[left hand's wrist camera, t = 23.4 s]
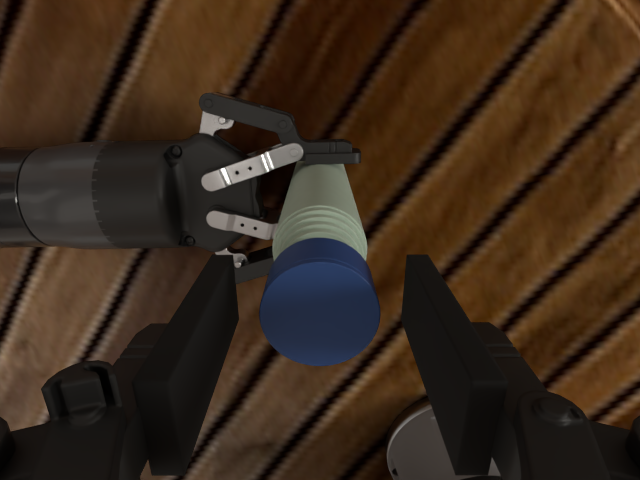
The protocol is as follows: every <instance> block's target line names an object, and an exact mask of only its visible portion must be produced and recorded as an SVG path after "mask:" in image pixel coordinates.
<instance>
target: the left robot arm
mask: <svg viewBox="0 0 640 480" xmlns="http://www.w3.org/2000/svg"><path fill="white" fill-rule="evenodd" d="M238 320H239V315H238V304H237V293H236V281H235V270H234V259H233V255H212V256H211V258H210V259H209V261H208V262H207V264H206V265H205V267H204V269H203V270H202V272H201V273H200V275H199V276H198V278H197V279H196V281H195V283H194V284H193V286H192V287H191V289H190V290H189V292H188V294H187V295H186V297H185V298H184V300H183V301H182V303H181V305H180V306H179V308H178V309H177V311H176V312H175V314H174V316H173V317H172V319H171V320H170V322H169V323H168V324H150V325H148V326H147V327H145V328H144V329H143V330H141V331H140V332H138V333H137V334H136V335H135V336H134V338H133V339H132V340H131V342H130V343H129V344H128V346H127V348H126V349H125V350H124V351H123V353H122V354H121V355H120V359H117V361H116V362H115V363H114V365H113V366H112V365H111V364H109V363H108V362H104V361H99V360H97V361H85V362H82V363H78V364H75V365H71V366H69V367H67V368H65V369H63V370H61V371H59V372H58V373H56V374H55V375H54V376H52V377H51V378H50V379H48V380H47V382H46V383H45V384H44V386H43V387H42V388H41V390H42V393H43V396H44V399H45V403H46V406H47V409H48V412H49V415H50V418H51V422H48V423H45V424H41V425H37V426H33V427H28V428H24V429H20V430H16V431H10V429H9V426H8V424H7V422H6V421H5V420H4V419H2V418H1V417H0V480H141V479H140V475H141V473H142V471H143V468H144V466H145V464H146V462H147V460H149V464H150V469H151V473H152V475H185V473H186V470H187V467H188V464H189V461H190V458H191V455H192V453H193V450H194V447H195V444H196V441H197V438H198V435H199V432H200V430H201V427H202V424H203V421H204V418H205V415H206V412H207V409H208V407H209V404H210V401H211V398H212V395H213V392H214V389H215V386H216V383H217V381H218V378H219V375H220V372H221V369H222V366H223V363H224V360H225V358H226V355H227V352H228V349H229V346H230V343H231V340H232V337H233V335H234V332H235V329H236V326H237V323H238ZM401 320H402V323H403V326H404V329H405V332H406V335H407V337H408V340H409V343H410V346H411V349H412V352H413V355H414V358H415V360H416V363H417V366H418V369H419V372H420V375H421V378H422V381H423V383H424V386H425V389H426V392H427V395H428V397H427V398H424V399H422V400H420V401H418V402H416V403H415V404H413V405H411V406H410V407H408V408H407V409H406V410H404V411H403V412H402V413H401V414H400V415H399V416H398V417H397V418H396V420H395V421H394V422H393V424H392V425H391V427H390V429H389V431H388V434H387V437H386V442H385V451H386V457H387V462H388V467H389V471H390V473H391V475H392V477H393V479H394V480H640V416H639V417H637V418H636V419H635V420H634V421H633V424H632V426H631V429H630V430H627V429H623V428H619V427H614V426H610V425H606V424H602V423H597V422H594V421H591V420H588V419H587V417H586V416H585V414H584V413H583V411H582V410H581V409H580V408H578V407H577V406H576V405H575V404H574V403H573V402H571V401H569V400H567V399H566V398H564V397H562V396H560V395H557V394H554V393H551V392H548V391H547V390H546V388H545V387H544V386H543V384H542V383H541V382H540V380H539V379H538V378H537V376H536V375H535V374H534V372H533V371H532V370H531V368H530V367H529V366H528V364H527V363H526V362H525V360H524V359H523V358H522V357H520V354H519V352H518V351H517V350H516V348H515V347H513V344H512V343H511V341H510V340H509V339H508V337H507V336H506V335H505V333H504V332H502V331H501V330H499V329H498V328H497V327H495V326H494V325H492V324H491V323H489V322H470V320H469V319H468V317H467V316H466V314H465V312H464V311H463V309H462V308H461V306H460V305H459V303H458V301H457V300H456V298H455V297H454V295H453V294H452V292H451V290H450V289H449V287H448V286H447V284H446V283H445V281H444V279H443V278H442V276H441V275H440V273H439V272H438V270H437V269H436V267H435V265H434V264H433V262H432V261H431V259H430V258H429V256H428V255H407V259H406V270H405V281H404V293H403V304H402V315H401Z"/></svg>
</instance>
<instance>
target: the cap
mask: <svg viewBox="0 0 640 480" xmlns="http://www.w3.org/2000/svg"><path fill="white" fill-rule="evenodd" d="M259 316H260V323H261V327H262V330H263V333H264V334H265V336H266V338H267V340H268V341H269V342H270V344H271V345H272V346H273V347H274V348H275V349H276V350H277V351H278V352H279V353H281V354H282V355H284V356H285V357H287V358H289V359H291V360H293V361H296V362H299V363H302V364H306V365H313V366H326V365H333V364H338V363H341V362H344V361H346V360H349V359H351V358H353V357H354V356H356V355H357V354H359V353H360V352H361V351H363V350H364V349H365V348H366V347H367V346H368V344H369V343H370V342H371V341H372V339H373V337H374V336H375V334H376V331H377V329H378V326H379V322H380V306H379V301H378V297H377V294H376V290H375V286H374V283H373V279H372V275H371V272H370V269H369V267H368V265H367V263H366V261H365V260H364V258H363V257H362V256H361V255H360V254H359V253H358V252H357V251H356V250H355V249H353V248H352V247H351V246H349V245H347V244H345V243H343V242H341V241H338V240H334V239H330V238H310V239H305V240H302V241H299V242H296V243H294V244H292V245H290V246H289V247H288V248H286V249H285V250H284V251H282V252H281V253H280V254H279V255H278V257H277V258H276V259H275V261H274V262H273V264H272V266H271V268H270V271H269V274H268V278H267V282H266V285H265V289H264V293H263V296H262V300H261V304H260V311H259Z"/></svg>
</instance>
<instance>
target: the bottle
mask: <svg viewBox="0 0 640 480" xmlns="http://www.w3.org/2000/svg"><path fill="white" fill-rule="evenodd" d="M310 238H330V239H334V240H338V241H341V242H343V243H345V244H347V245H349V246H351V247H352V248H353V249H355V250H356V251H357V252H358V253H359V254H360V255H361V256H362V257H363V258H364V260H365V261H366V256H367V241H366V237H365V234H364V231H363V227H362V224H361V221H360V217H359V214H358V211H357V207H356V204H355V201H354V197H353V194H352V191H351V188H350V184H349V181H348V178H347V174H346V171H345V168H344V164H316V165H305V161H297V163H296V166H295V169H294V173H293V176H292V179H291V183H290V186H289V189H288V193H287V196H286V199H285V203H284V206H283V209H282V212H281V216H280V219H279V222H278V226H277V229H276V232H275V236H274V240H273V247H272V251H273V259H274V261H275V259H276V258H277V257H278V255H279V254H280V253H281V252H282V251H284V250H285V249H286V248H288V247H289V246H290V245H292V244H294V243H296V242H299V241H302V240H305V239H310Z"/></svg>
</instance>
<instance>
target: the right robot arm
mask: <svg viewBox="0 0 640 480" xmlns="http://www.w3.org/2000/svg"><path fill="white" fill-rule="evenodd" d="M199 105H200V108H201V109H202V110H203V113H202V119H201V125H200V132H199V133H197V134H195V135H193V136H191V137H190V138H188V139H184V140H152V141H113V142H112V141H110V140H96V141H94V142H78V143H68V144H62V145H57V146H50V147H11V148H0V248H7V247H53V246H61V247H71V248H79V249H126V248H175V247H189V246H197V247H201V248H204V249H206V250H208V251H211V252H215V253H216V255H233V259H234V270H235V281H236V284H238V283H241V282H245V281H248V280H252V279H255V278H258V277H262V276H265V275H268V274H269V271H270V268H271V266H272V264H273V262H274V259H273V251H272V247H273V246H270V247H267V248H264V249H261V250H257V251H254V252H251V253H248V251H246V250H245V249H234V248H232V247H231V246H230V245H231V244H233V243H234V242H235V241H237V240H238V239H239V238H241V237H242V236H243V235H245V234H246V235H250V236H254V237H258V238H262V239H266V240H270V239H274V236H275V232H276V229H277V226H278V222H279V219H280V216H281V213H280V212H279V211H278V210H275V209H272V208H268V207H265V206H263V198H262V196H261V193H260V190H259V188H260V183H261V174H264V173H267V172H269V171H271V170H273V169H275V168H278V167H281V166H284V165H287V164H290V163H293V162H296V161H305V165H316V164H356V163H361V151H360V150H359V149H357V148H352V144H351V142H350V141H347V140H344V139H324V140H307V139H304V138H303V137H301V136H300V134H299V132H298V130H297V127H296V125H295V120H294V117H293V115H292V114H290V113H288V112H285V111H281V110H278V109H274V108H271V107H267V106H264V105H260V104H257V103H253V102H250V101H246V100H243V99H239V98H236V97H232V96H229V95H225V94H222V93H205V94H203V95H202V96H201V97H200V100H199ZM236 121H237V122H241V123H244V124H248V125H251V126H255V127H258V128H262V129H266V130H269V131H273V132H276V133H277V134H278V137H279V139H280V141H281V143H280V144H277V145H274V146H271V147H266V148H263V149H260V150H257V151H254V152H251V153H249V154H245V153H243V152H242V151H240V150H239V149H237V148H236V147H234V146H233V145H231V144H230V143H228V142H227V141H225V140H224V139H222V138H221V137H219V136H218V135H216V134H217V131H218V130H219V129H228V128H231V127H233V126H234V125H235V123H236ZM256 227H257V228H256Z"/></svg>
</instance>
